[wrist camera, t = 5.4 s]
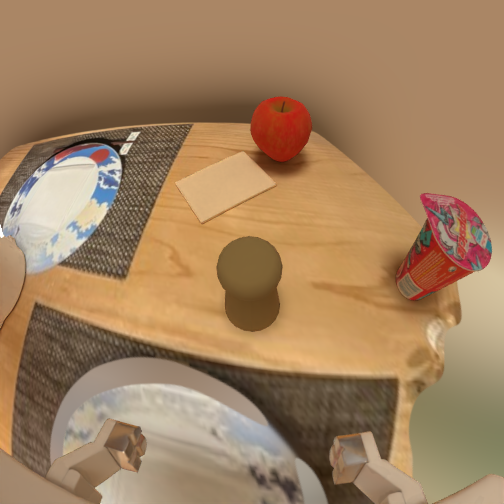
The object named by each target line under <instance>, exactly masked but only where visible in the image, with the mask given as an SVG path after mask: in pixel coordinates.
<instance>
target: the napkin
mask: <svg viewBox="0 0 504 504" xmlns="http://www.w3.org/2000/svg"><path fill="white" fill-rule="evenodd" d="M175 184H176V186H177V187H178V189H179V190H180V192H181V193H182V195H183V197H184V198H185V200H186V201H187V203H188V204H189V206H190V207H191V209H192V210H193V212H194V213H195V215H196V216H197V218H198V219H199V221H200V222H201V224H203V223H205V222H207V221H209V220H210V219H212V218H214V217H216V216H218V215H220V214H222V213H224V212H226V211H228V210H229V209H231V208H233V207H235V206H237V205H239V204H241V203H243V202H245V201H247V200H249V199H251V198H253V197H255V196H257V195H259V194H261V193H263V192H265V191H267V190H269V189H271V188H273V187H275V186H277V184H276V183H275V182H274V181H273V180H272V179H271V178H270V177H269V176H268V175H267V174H266V173H265V172H264V171H263V170H262V169H261V168H260V167H259V166H258V165H257V164H256V163H255V162H254V161H253V160H252V159H251V158H250V157H249V156H248V155H247V154H246V153H245V152H244V151H242V152H240V153H237V154H235V155H233V156H231V157H228V158H226V159H224V160H222V161H219V162H217V163H215V164H213V165H211V166H208V167H206V168H204V169H202V170H200V171H198V172H196V173H194V174H192V175H189V176H187V177H185V178H183V179H181V180H179V181H177V182H175Z"/></svg>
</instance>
